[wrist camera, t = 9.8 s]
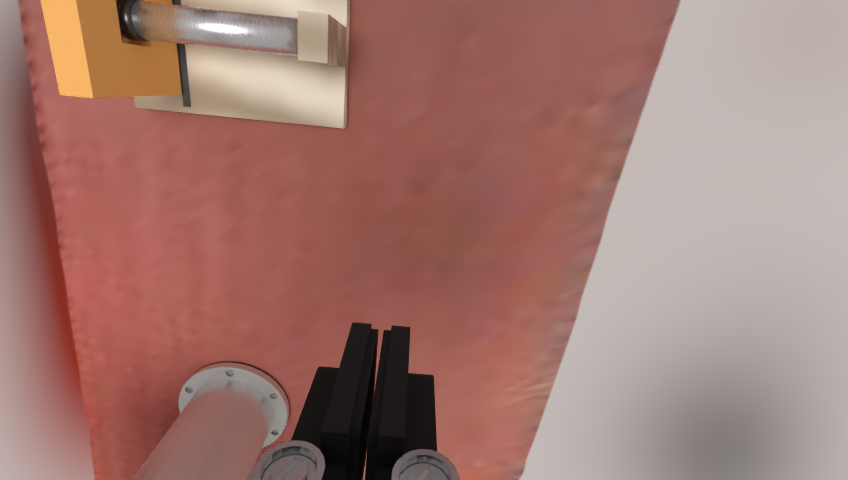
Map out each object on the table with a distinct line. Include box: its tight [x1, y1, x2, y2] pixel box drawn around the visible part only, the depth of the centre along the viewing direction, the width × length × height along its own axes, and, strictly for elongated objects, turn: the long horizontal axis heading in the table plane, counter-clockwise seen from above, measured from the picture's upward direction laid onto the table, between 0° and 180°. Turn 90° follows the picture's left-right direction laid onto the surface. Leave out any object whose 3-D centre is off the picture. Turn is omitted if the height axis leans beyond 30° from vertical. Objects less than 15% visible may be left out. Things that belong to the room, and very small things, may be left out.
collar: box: [41, 0, 182, 98], centre depth 28 cm, size 10×2×10 cm, turn 174°
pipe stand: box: [121, 0, 350, 128], centre depth 31 cm, size 13×18×8 cm
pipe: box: [116, 0, 298, 56], centre depth 28 cm, size 3×17×3 cm, turn 84°
